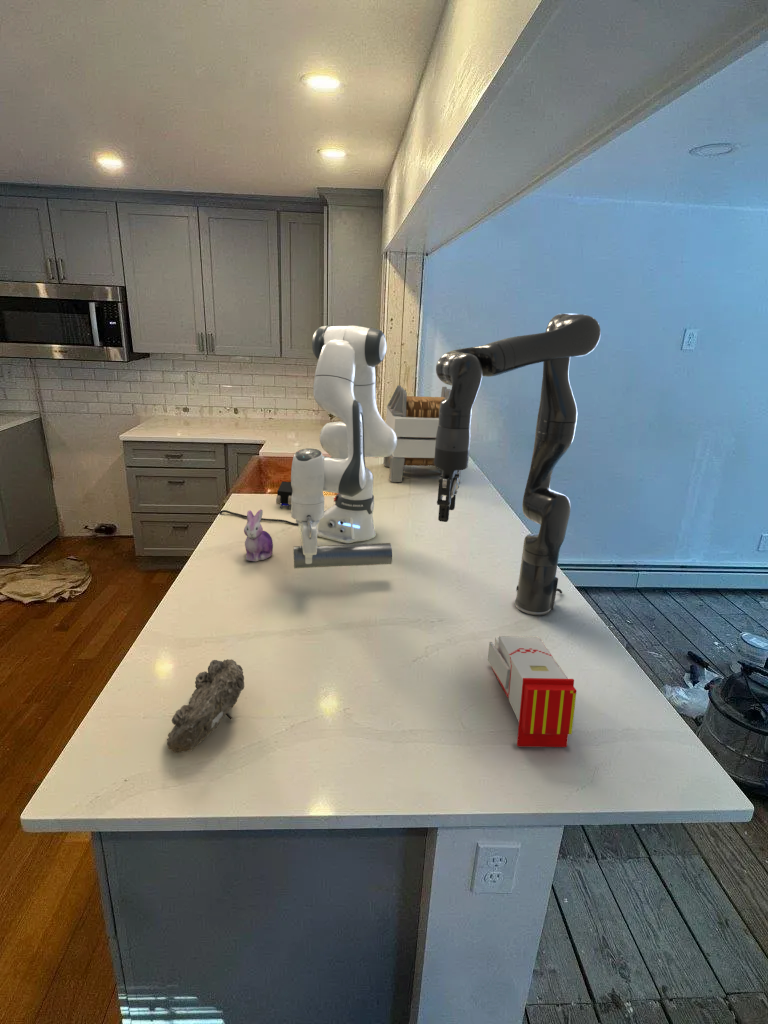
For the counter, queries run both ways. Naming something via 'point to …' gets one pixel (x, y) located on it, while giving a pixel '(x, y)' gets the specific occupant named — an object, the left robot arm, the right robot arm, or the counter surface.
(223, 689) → the fossil
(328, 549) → the rod
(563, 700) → the toy
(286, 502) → the figurine character
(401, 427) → the transformer
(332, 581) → the counter surface
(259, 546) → the figurine
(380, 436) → the left robot arm
